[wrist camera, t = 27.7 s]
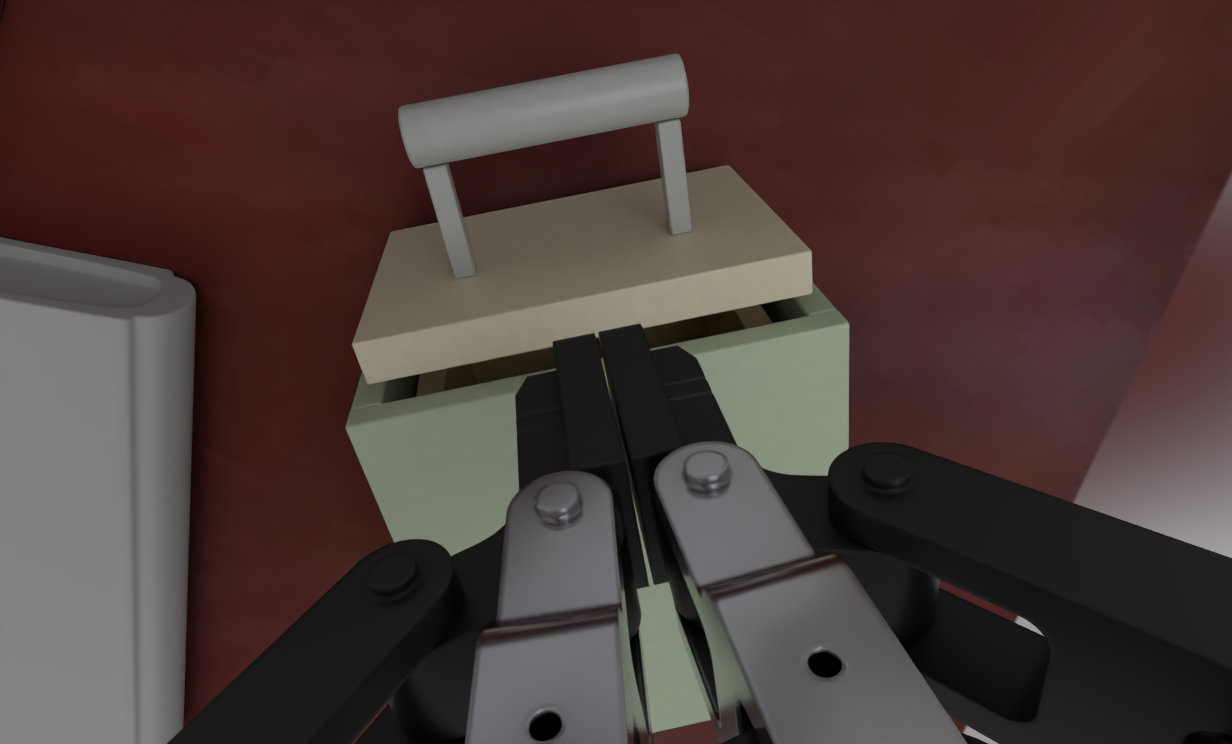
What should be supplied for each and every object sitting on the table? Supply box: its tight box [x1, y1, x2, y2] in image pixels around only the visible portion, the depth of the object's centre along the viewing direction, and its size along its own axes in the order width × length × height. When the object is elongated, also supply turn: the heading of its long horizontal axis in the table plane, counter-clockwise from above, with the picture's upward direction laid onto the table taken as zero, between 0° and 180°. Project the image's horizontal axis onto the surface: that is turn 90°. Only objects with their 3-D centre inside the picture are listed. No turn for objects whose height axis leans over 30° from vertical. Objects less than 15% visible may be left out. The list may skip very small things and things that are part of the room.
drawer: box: [352, 54, 813, 397], centre depth 24 cm, size 18×11×8 cm, turn 9°
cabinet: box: [346, 282, 849, 733], centre depth 26 cm, size 15×13×10 cm
